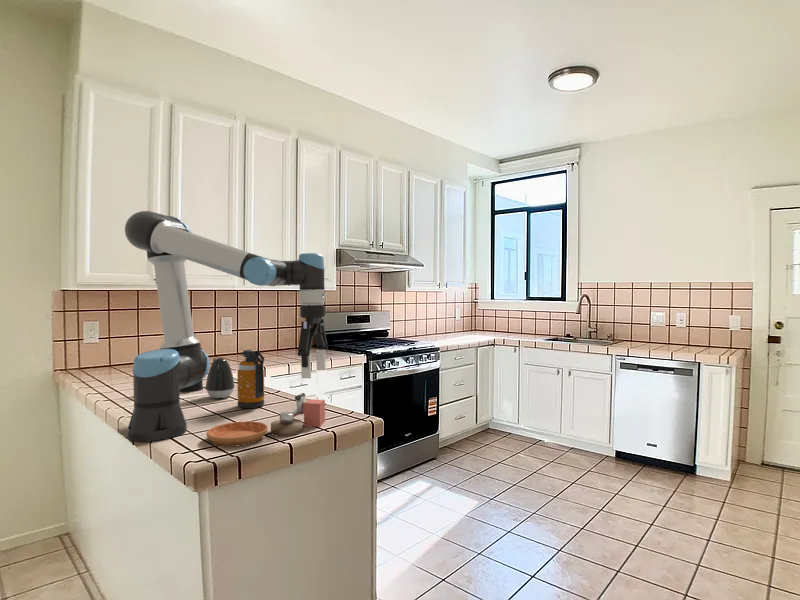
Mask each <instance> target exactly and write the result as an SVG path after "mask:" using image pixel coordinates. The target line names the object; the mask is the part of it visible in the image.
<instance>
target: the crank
mask: <svg viewBox="0 0 800 600" xmlns="http://www.w3.org/2000/svg"><path fill="white" fill-rule="evenodd" d="M305 398H306V393H304V392H302V393H299V394H298V395H295V396H294V399H295V401H296V409H294V410H292V411H283V412H280V413H279V420H280V423H281V424H290V423H293V422H294V419H295V417H297V416H298V415H299V416H300V415H304V403H305Z"/></svg>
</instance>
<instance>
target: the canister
mask: <svg viewBox="0 0 800 600" xmlns="http://www.w3.org/2000/svg"><path fill="white" fill-rule="evenodd" d="M241 355H242V356H243V357H244V358H245V359H244V360H242V361H241V360H240V362H239V364H238V370H237V373H236V374H237V407H239V408H242V407H243V408H242V409H246V408H251V409H255V408H254V407H257V408H260V407H261V406H264V405H265V370H264V361H265V357H264V356H263V354H262V353H261V351H259V350H258V349H257V350H256V351H255V350H251V349H246V350H243V351H242V352H241ZM259 406H260V407H259Z"/></svg>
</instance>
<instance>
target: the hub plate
mask: <svg viewBox="0 0 800 600" xmlns="http://www.w3.org/2000/svg"><path fill="white" fill-rule="evenodd" d="M303 429H304V420H301V419H298V418H294V422H293V423H290V424H281V423H280V419H277V420H274V421H272V422H271V423H270V434H271V435H272V434H273V436H275V435H277V436H276V437H291V436H297V435H299V434H301V433H303Z"/></svg>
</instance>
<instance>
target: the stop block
mask: <svg viewBox="0 0 800 600" xmlns="http://www.w3.org/2000/svg"><path fill="white" fill-rule="evenodd" d="M324 422H325V423H326V400H325V399H314V398H313V399H308V400H306V401H304V414H303V427H312V426H313V427H315V428H318V427H321V426H323V425H324V424H325V423H324ZM323 423H324V424H323ZM322 424H323V425H322ZM313 427H312V428H313Z"/></svg>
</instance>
